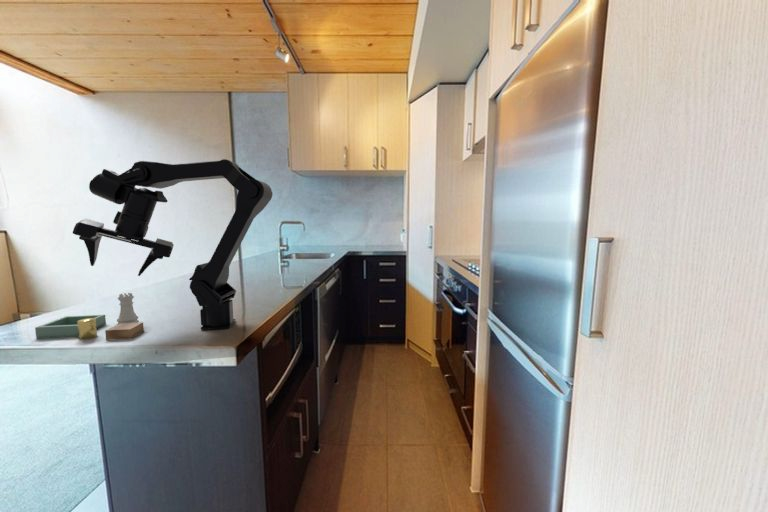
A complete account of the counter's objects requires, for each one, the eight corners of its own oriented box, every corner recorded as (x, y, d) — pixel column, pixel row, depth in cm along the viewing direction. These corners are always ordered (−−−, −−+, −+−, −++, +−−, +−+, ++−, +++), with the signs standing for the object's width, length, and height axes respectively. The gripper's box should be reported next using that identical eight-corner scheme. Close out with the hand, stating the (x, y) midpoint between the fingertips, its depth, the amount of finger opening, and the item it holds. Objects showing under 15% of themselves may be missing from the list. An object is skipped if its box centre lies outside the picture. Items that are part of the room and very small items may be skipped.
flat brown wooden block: (143, 332, 76) (143, 322, 76) (131, 339, 71) (130, 329, 71) (120, 333, 75) (119, 323, 75) (106, 341, 70) (105, 330, 70)
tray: (106, 324, 81) (105, 314, 80) (80, 335, 72) (79, 325, 72) (66, 325, 79) (65, 316, 79) (36, 338, 70) (35, 327, 70)
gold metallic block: (100, 334, 73) (98, 317, 73) (91, 339, 70) (89, 321, 70) (85, 335, 73) (83, 318, 72) (75, 340, 70) (73, 322, 69)
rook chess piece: (126, 328, 78) (123, 296, 77) (112, 326, 79) (109, 295, 78) (143, 322, 82) (141, 292, 81) (129, 321, 83) (127, 291, 82)
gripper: (182, 219, 88) (163, 270, 89) (97, 192, 78) (77, 250, 79) (180, 228, 79) (159, 284, 80) (83, 199, 69) (60, 263, 70)
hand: (116, 270), depth 78 cm, fingers open, 9 cm apart
